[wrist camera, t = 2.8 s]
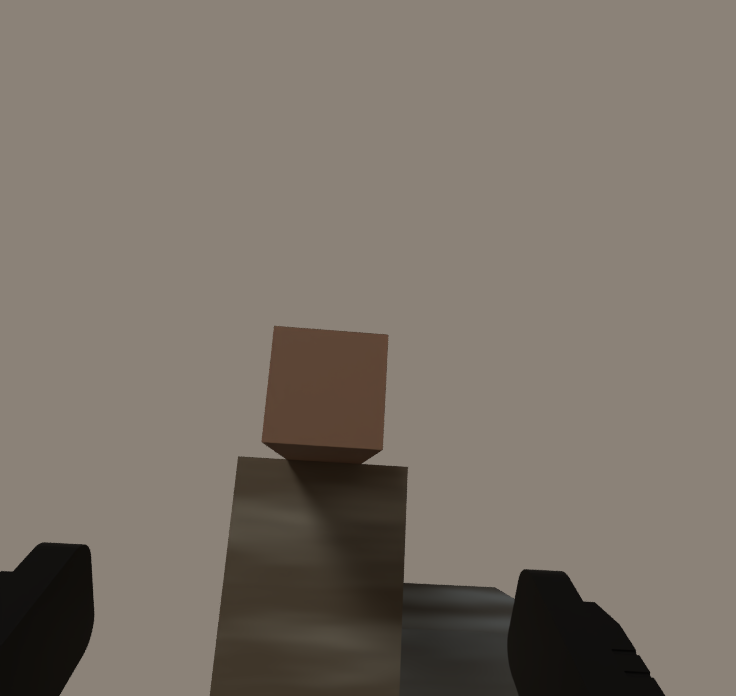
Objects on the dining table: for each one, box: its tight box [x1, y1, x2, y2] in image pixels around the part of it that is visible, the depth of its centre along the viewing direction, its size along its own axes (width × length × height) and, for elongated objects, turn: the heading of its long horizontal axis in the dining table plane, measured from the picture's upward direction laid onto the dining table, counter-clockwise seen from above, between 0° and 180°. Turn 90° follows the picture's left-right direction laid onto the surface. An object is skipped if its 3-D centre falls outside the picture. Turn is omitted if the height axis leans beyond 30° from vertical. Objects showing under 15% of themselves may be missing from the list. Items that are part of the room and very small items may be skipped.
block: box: [262, 326, 388, 464], centre depth 28 cm, size 26×4×4 cm, turn 4°
